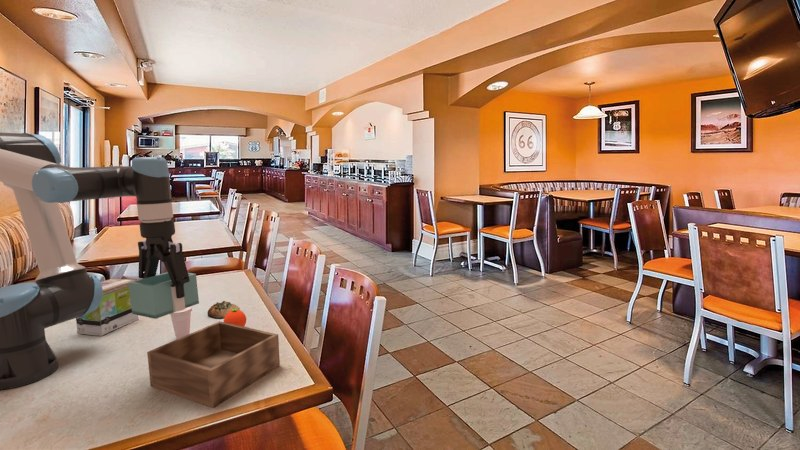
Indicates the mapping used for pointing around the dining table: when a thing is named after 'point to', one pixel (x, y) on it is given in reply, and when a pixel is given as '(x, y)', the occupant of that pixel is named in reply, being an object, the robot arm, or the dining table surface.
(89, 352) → the dining table surface
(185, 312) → the smoothie
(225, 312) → the bread roll
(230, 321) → the clementine
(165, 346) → the walnut crate
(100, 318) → the tea box
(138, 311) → the teal crate
